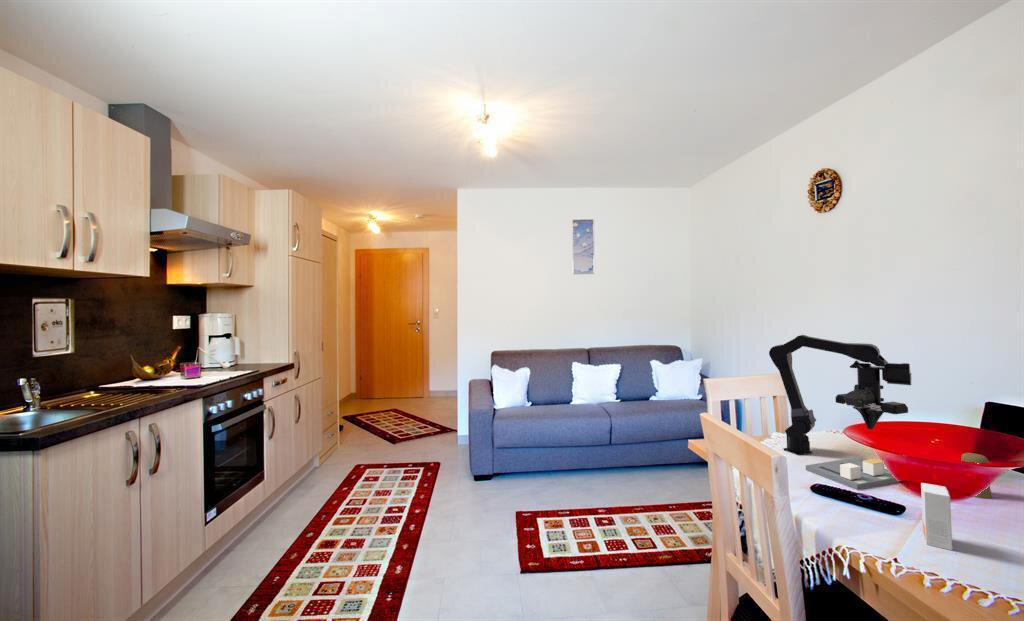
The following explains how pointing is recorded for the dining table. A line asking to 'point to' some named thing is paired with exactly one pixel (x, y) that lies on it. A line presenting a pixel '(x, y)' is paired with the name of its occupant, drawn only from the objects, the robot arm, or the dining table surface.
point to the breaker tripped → (872, 467)
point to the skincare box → (936, 516)
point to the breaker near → (850, 471)
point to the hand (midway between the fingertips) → (870, 429)
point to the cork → (978, 459)
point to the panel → (866, 480)
